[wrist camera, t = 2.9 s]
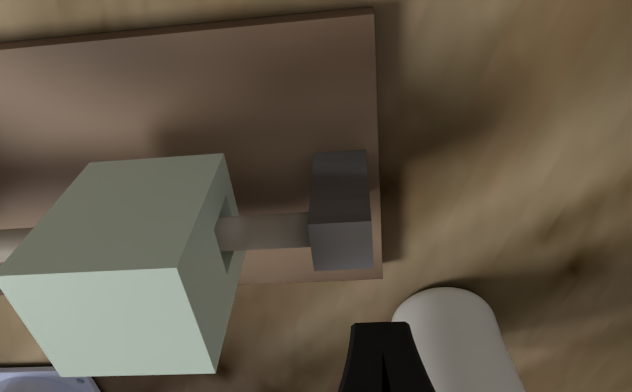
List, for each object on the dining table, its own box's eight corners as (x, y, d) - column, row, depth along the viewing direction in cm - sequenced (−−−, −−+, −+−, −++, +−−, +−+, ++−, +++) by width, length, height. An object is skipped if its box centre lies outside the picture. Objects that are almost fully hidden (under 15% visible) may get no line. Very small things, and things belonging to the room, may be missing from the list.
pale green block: (246, 247, 19) (215, 373, 14) (129, 253, 20) (61, 377, 15) (223, 153, 17) (176, 267, 12) (89, 162, 17) (-8, 276, 12)
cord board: (381, 264, 23) (392, 379, 18) (-137, 287, 26) (-258, 393, 20) (372, 6, 16) (387, 71, 11) (-332, 75, 19) (-587, 153, 14)
